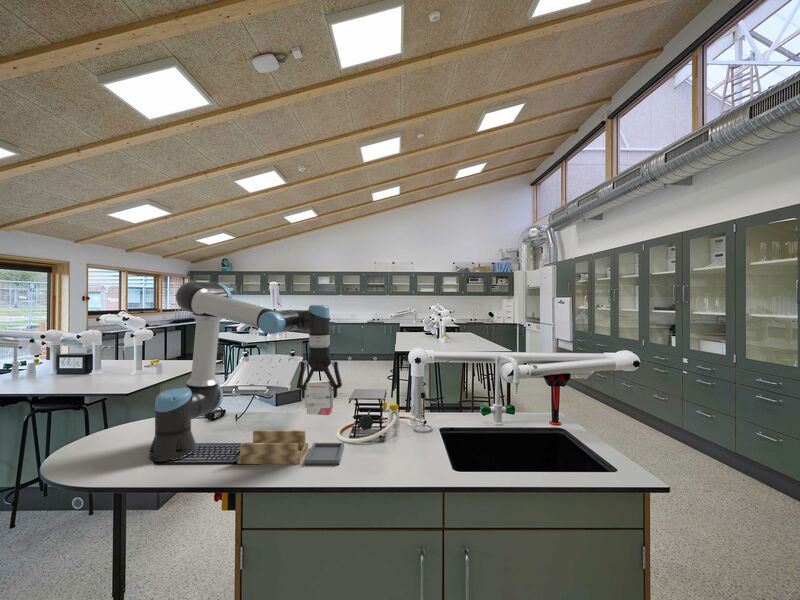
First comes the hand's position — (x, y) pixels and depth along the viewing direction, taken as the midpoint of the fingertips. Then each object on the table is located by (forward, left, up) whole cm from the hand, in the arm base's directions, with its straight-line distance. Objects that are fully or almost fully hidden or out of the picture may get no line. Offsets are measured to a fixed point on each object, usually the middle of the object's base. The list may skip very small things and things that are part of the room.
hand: (319, 406), depth 144 cm
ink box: (0, 0, -3) cm, 3 cm away
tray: (+2, 0, -18) cm, 19 cm away
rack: (-17, 0, -18) cm, 25 cm away
